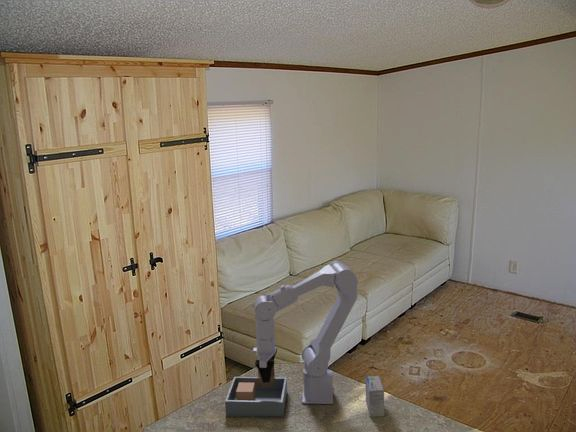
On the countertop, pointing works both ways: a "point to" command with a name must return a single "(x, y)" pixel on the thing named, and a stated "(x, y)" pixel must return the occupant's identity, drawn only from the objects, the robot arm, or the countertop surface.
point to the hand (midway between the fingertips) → (267, 376)
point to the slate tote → (258, 399)
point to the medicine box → (374, 396)
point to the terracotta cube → (245, 391)
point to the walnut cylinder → (272, 380)
